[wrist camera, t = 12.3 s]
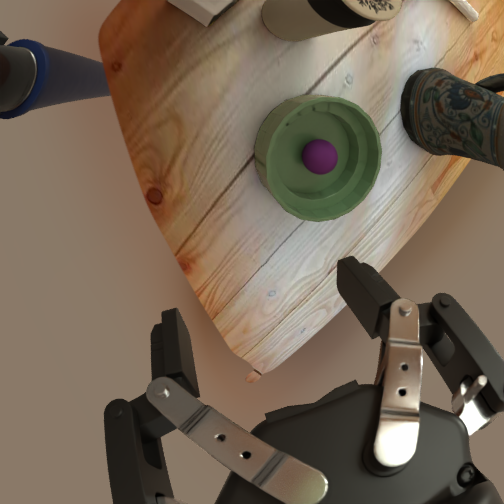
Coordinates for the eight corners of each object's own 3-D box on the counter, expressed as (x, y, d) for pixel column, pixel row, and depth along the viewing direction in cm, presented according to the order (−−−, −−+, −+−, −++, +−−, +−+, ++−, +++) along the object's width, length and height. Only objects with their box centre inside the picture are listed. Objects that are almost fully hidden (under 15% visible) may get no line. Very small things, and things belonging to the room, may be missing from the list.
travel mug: (284, 51, 31) (365, 35, 16) (248, 8, 26) (308, -41, 12) (326, 26, 29) (417, 9, 15) (294, -15, 25) (372, -58, 10)
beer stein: (393, 145, 42) (514, 209, 22) (402, 40, 32) (535, 55, 11) (447, 154, 46) (544, 208, 26) (457, 67, 36) (563, 96, 15)
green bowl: (227, 146, 36) (237, 156, 32) (321, 72, 33) (344, 72, 28) (297, 224, 46) (313, 243, 41) (373, 159, 43) (396, 171, 38)
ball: (289, 150, 38) (304, 159, 34) (315, 129, 37) (333, 136, 33) (308, 175, 41) (323, 186, 37) (332, 154, 40) (350, 164, 36)
